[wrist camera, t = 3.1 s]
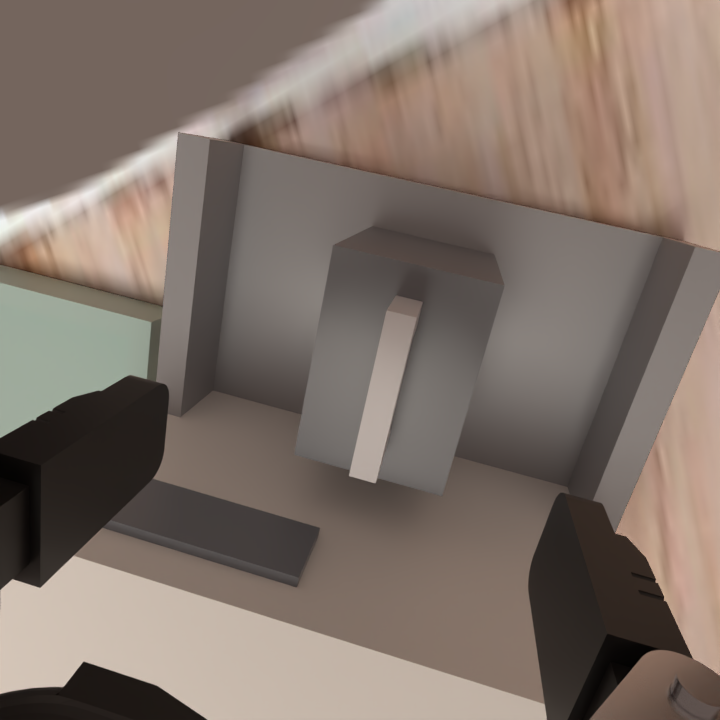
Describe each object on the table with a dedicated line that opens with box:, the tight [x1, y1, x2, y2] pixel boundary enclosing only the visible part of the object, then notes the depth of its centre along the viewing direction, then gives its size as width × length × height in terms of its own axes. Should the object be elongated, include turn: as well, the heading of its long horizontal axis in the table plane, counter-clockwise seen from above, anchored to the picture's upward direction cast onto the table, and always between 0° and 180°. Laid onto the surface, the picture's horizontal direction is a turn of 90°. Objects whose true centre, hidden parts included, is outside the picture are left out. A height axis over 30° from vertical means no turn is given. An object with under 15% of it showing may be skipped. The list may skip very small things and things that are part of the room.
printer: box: [0, 132, 720, 720], centre depth 20 cm, size 19×19×13 cm
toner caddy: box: [294, 226, 505, 496], centre depth 19 cm, size 5×7×9 cm
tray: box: [0, 265, 163, 438], centre depth 29 cm, size 14×14×2 cm
